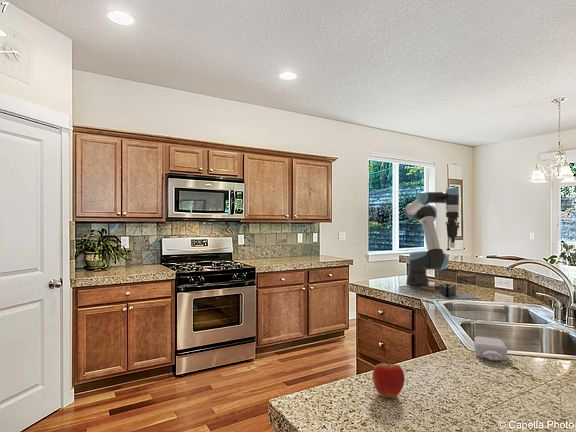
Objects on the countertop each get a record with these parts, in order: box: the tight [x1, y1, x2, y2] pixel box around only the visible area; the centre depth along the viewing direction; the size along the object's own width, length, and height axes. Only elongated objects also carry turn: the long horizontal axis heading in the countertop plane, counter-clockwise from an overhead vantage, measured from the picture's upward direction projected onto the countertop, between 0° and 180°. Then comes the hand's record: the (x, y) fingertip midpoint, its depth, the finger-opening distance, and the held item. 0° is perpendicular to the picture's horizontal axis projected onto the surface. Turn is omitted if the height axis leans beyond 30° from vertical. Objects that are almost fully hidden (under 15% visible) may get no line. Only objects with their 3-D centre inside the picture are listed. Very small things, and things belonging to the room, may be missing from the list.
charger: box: [473, 335, 508, 362], centre depth 126 cm, size 5×9×15 cm
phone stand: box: [439, 283, 457, 298], centre depth 225 cm, size 9×6×12 cm
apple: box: [372, 356, 405, 399], centre depth 98 cm, size 8×8×10 cm
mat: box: [433, 293, 480, 300], centre depth 223 cm, size 12×22×1 cm, turn 93°
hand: (452, 247), depth 240 cm, fingers closed
